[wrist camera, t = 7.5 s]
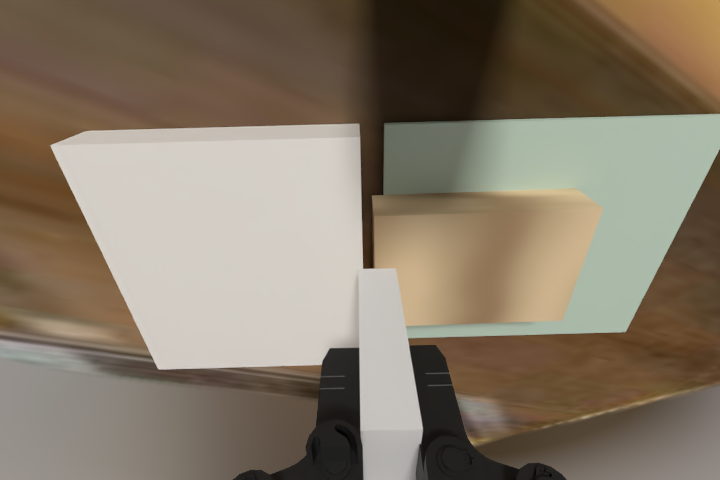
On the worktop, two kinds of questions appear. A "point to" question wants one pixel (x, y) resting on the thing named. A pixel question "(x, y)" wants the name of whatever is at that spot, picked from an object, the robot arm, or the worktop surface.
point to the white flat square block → (228, 237)
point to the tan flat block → (484, 253)
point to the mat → (562, 171)
